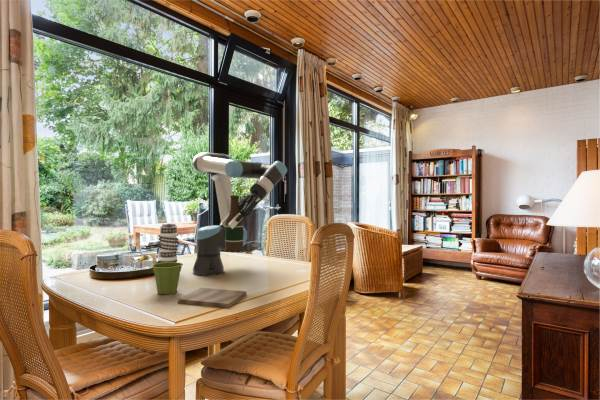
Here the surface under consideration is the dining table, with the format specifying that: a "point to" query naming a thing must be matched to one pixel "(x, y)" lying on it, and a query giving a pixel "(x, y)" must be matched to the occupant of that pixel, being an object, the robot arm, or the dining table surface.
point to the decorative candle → (168, 243)
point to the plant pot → (167, 276)
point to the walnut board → (212, 297)
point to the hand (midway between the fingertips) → (226, 225)
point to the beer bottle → (234, 229)
